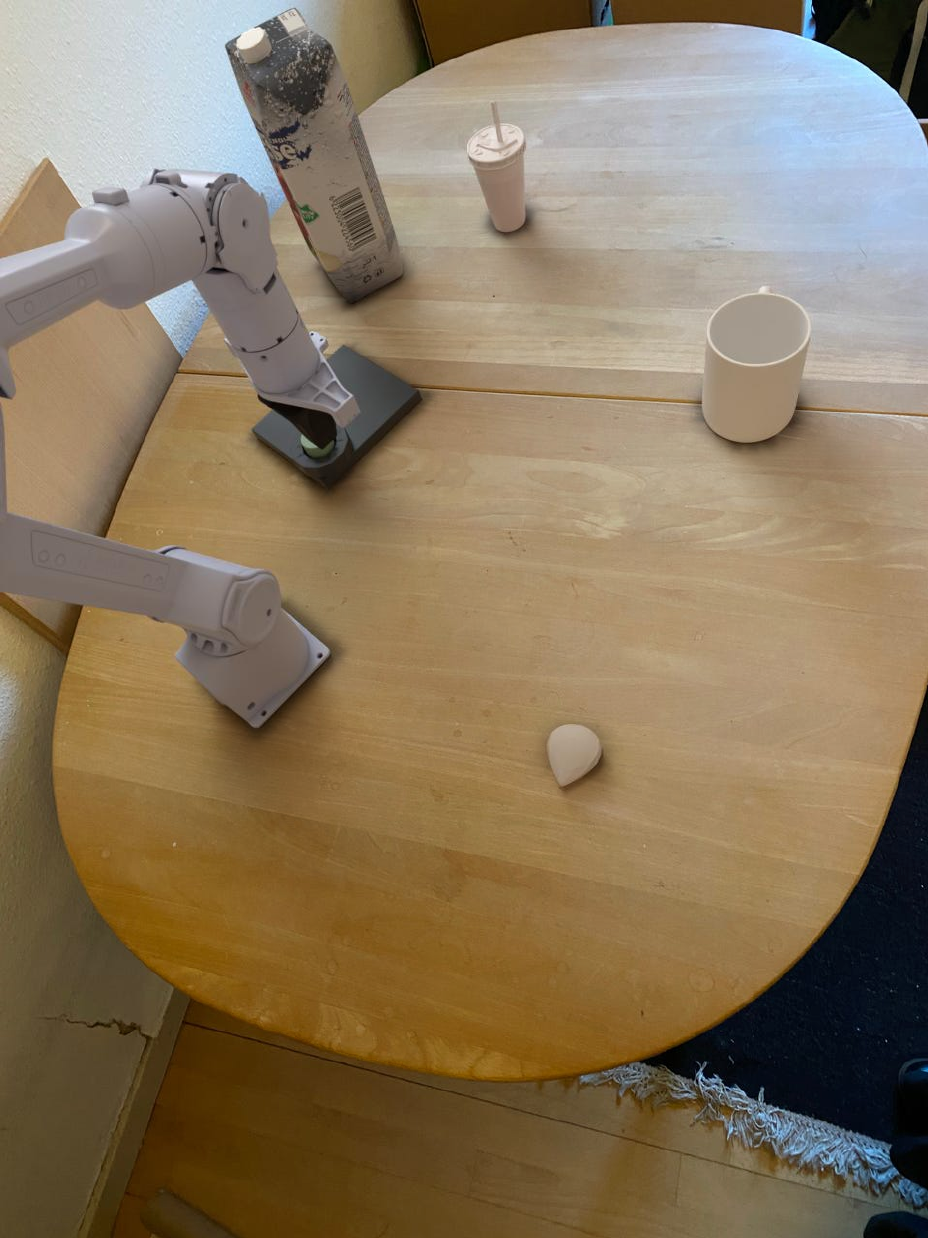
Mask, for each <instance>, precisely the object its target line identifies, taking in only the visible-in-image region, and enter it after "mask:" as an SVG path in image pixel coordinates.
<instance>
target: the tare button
mask: <svg viewBox="0 0 928 1238" xmlns="http://www.w3.org/2000/svg"><path fill="white" fill-rule="evenodd" d="M301 444H302V445H303V447H304V449H305V450H306V452H307V454H308V455H309V456H311V457H313V458H321V457H324V456H326V455H328V454H329V453H330V452H331V451H332V449H333V447H334V440H333V441H332V442H331V443H329V444H328V445H327V446H326V447H325V448H324V449H323V450H321V449H320V448H318V447H317V446H316V445H314V444H313V443H311V442H310V441H309V440H308V439H307V438H305V437H304V436H303V435H302V436H301Z"/></svg>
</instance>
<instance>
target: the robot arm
mask: <svg viewBox="0 0 928 1238" xmlns="http://www.w3.org/2000/svg"><path fill="white" fill-rule="evenodd" d="M91 196H92V199H93V203H91V204H89V205H87V206H83V207H80V208H78V209H76V210H75V211H73V212H72V213H71V214H70V216H69V218H68V219H67V222H66V224H65V228H64V233H63V240H60V241H56V242H53V243H49V244H46V245H42V246H40V247H36V248H33V249H30V250H25V251H21V252H18V253H15V254H11V255H8V256H5V257H1V258H0V399H1V398H2V399H6V400H14V398H15V396H16V393H17V387H16V384H15V383H16V382H15V379H14V373H13V370H12V369H13V368H12V364H11V359H10V355H9V350H11V348H12V347H14V346H16V345H18V344H19V343H21V342H23V341H25V340H27V339H29V338H30V337H33V336H34V335H36V334H38V333H40V332H42V331H43V330H45V329H48V328H49V327H51V326H52V325H54V324H57V323H58V322H60V321H62V320H63V319H66V318H67V317H70V316H71V315H72V314H75V313H76V312H79V311H80V310H82V309H84V308H86V307H88V306H89V305H91V304H93V303H96V301H99V302H100V303H102V304H103V305H106V306H108V307H109V308H112V309H116V310H121V311H122V310H130V309H133V308H136V307H138V306H140V305H143V304H144V303H146V302H148V301H150V300H152V299H154V298H156V297H158V296H160V295H163V294H165V293H167V292H169V291H171V290H174V289H176V288H177V287H180V286H182V285H184V284H187V283H188V282H190V281H191V282H192V283H193V285H194V286H195V288H196V290H197V291H198V293H199V295H200V296H201V299H202V300H203V301H204V303H205V305H206V306H207V308H208V309H209V311H210V313H211V315H212V316H213V318H214V320H215V321H216V323H217V324H218V326H219V328H220V329H221V331H222V333H223V335H224V336H225V337H224V338H223V342H224V343H225V346H226V347H227V348H228V350H229V352H230V353H231V355H232V356H233V357H234V358H236V359H237V360H238V362H239V363H240V365H241V366H242V369H243V371H244V372H245V374H246V377H247V378H248V380H249V382H250V383H251V386H252V388H253V389H254V390H255V392H256V393H257V399H258V401H259V402H260V403H262V404H263V405H264V406H266V407H268V408H269V409H271V410H274V411H275V412H277V413H278V414H280V415H281V416H282V417H284V418H285V419H287V420H289V421H290V422H291V423H292V424H293V425H294V426H295V427H296V428H297V429H298V430H299V431H300V432H301V433H302V435H303V436H304V437H305V438H307V439H308V440H309V441H310V442H311V443H313V444H314V445H316V446H317V447H318V448H320V449H321V450H323V449H324V448H325V447H326V446H327V445H328V444H329V443H331V442H332V441H333V440H334V439H335V438H336V437H337V428H336V424H338V425H339V426H341V427H342V428H344V427H345V426H347V425H348V424H349V423H350V422H351V421H352V420H353V419H354V418H355V417H356V416H357V415H358V414H359V413H360V412H361V411H360V409H359V407H358V404H357V402H356V400H355V398H354V396H353V395H352V394H351V393H349V392H348V391H347V390H346V389H345V388H344V387H343V386H342V385H341V383H340V382H339V380H338V378H337V377H336V375H335V374H334V372H333V370H332V369H331V367H330V366H329V364H328V362H327V361H326V360H327V359H326V357H325V356H324V352H325V351H326V350H327V349H328V348H329V341H328V339H327V338H326V336H324V335H322V334H321V333H319V332H317V331H310V332H309V331H308V329H307V327H306V324H305V322H304V321H303V318H302V316H301V313H300V312H299V310H298V308H297V306H296V304H295V302H294V299H293V298H292V296H291V293H290V292H289V289H288V288H287V286H286V283H285V281H284V279H283V277H282V275H281V273H280V271H279V269H278V265H279V262H278V259H277V256H278V252H277V251H276V248H275V247H274V246H275V245H274V243H273V241H272V237H271V225H270V224H271V223H270V222H271V220H270V213H269V206H268V203H267V200H266V197H265V195H264V192H263V191H260V192H258V191H256V190H255V189H254V188H253V187H252V186H251V185H250V183H248V182H247V181H246V180H245V178H243V177H242V176H238V174H237V173H234V172H233V173H232V172H221V171H207V170H196V169H195V170H194V169H182V168H169V169H165V168H164V169H163V168H162V169H158V168H152V169H150V170H149V171H148V172H147V174H146V175H145V176H144V178H143V180H142V182H141V184H140V187H139V188H137V189H134V190H131V191H127V190H126V189H125V188H123V187H112V186H103V187H101V188H97V189H94V190H93V191H92V192H91ZM4 421H5V420H4V413H3V406H2V403H1V402H0V593H5V594H11V595H18V596H24V597H30V598H36V599H42V600H47V601H55V602H61V603H66V604H73V605H79V606H85V607H91V608H97V609H103V610H110V611H115V612H122V613H127V614H134V615H139V616H146V617H147V618H149V619H150V620H152V621H154V622H157V623H158V622H159V623H162V624H165V623H166V624H169V625H171V626H172V625H173V626H175V627H179V628H181V629H182V630H183V631H184V633H185V634H186V638H185V639H184V640H183V642H182V644H181V646H180V647H179V649H178V650H176V652H175V654H174V655H173V657H174V659H175V660H176V661H177V663H179V665H181V666H182V668H183V669H185V670H186V671H187V673H189V674H190V675H191V676H192V677H193V678H194V679H195V680H196V681H197V682H198V683H199V684H200V685H201V686H203V688H205V689H206V690H207V691H208V692H209V694H210V695H211V696H212V697H213V698H214V699H215V700H217V701H218V702H219V703H220V704H221V705H222V706H226V707H228V708H229V709H230V710H232V711H233V712H234V713H235V714H236V715H238V716H239V717H241V718H242V719H243V720H244V721H246V722H247V723H248V724H249V726H251V727H252V728H254V729H259V728H261V727H262V726H263V725H264V723H266V722H267V720H268V719H270V717H271V716H273V715H274V714H275V712H276V711H277V710H278V709H280V708H281V706H282V705H283V704H284V703H285V702H286V701H287V700H289V698H291V696H292V695H293V694H294V693H295V692H296V691H297V690H298V689H299V688H300V686H302V685H303V684H304V683H305V681H307V679H308V678H310V676H312V675H313V673H315V672H316V670H317V669H318V668H319V667H320V666H321V665H322V664H323V663H324V662H325V661H326V660H327V659H328V658H329V657H330V656H331V650H330V649H329V648H328V647H327V646H326V645H325V643H323V642H322V641H321V640H319V639H318V638H317V637H316V636H315V635H314V634H313V633H311V632H310V631H309V630H308V629H307V628H306V627H305V626H304V625H302V624H301V623H300V622H299V621H297V620H296V619H295V618H294V617H293V616H292V615H291V614H290V613H288V612H287V611H286V610H285V609H284V608H282V592H281V587H280V583H279V580H278V578H277V577H276V575H275V574H274V573H273V572H272V571H270V570H269V569H265V568H259V567H255V568H254V567H250V566H246V565H243V564H239V563H235V562H232V561H228V560H224V559H221V558H218V557H214V556H209V555H206V554H202V553H200V552H199V553H198V552H195V551H191V550H189V549H187V548H186V547H183V546H180V545H177V544H170V545H166V546H162V547H159V548H158V549H153V550H152V549H147V548H142V547H138V546H134V545H131V544H127V543H123V542H120V541H117V540H112V539H110V538H106V537H101V536H97V535H94V534H90V533H86V532H83V531H80V530H76V529H72V528H68V527H64V526H61V525H57V524H53V523H51V522H47V521H42V520H39V519H35V518H32V517H29V516H24V515H21V514H18V513H13V512H9V511H8V494H7V493H8V491H7V490H8V489H7V465H6V463H7V462H6V437H5V422H4ZM320 656H322V657H320ZM264 713H265V714H264Z"/></svg>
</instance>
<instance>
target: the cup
mask: <svg viewBox="0 0 928 1238" xmlns="http://www.w3.org/2000/svg"><path fill="white" fill-rule="evenodd" d="M812 330H813V325H812V319H811V317H810V315H809V313H808V312H807V310H806V309H805V308H804V307H803V306H802V305H801V304H800V303H799V302H797V301H795V299H792V298H790V297H788V296H786V295H782V294H778V293H773V289H772V287H771V286H769V285H763V286H761V287H760V288H759V289H758V292H751V293H744V294H741V295H739V296H736V297H733V298H731V299H730V300H727V301H725V302H724V303H722V304H721V305H720V306H719V307H718V308H716V310H715V311H714V312H713V313H712V315H711V316H710V318H709V320H708V321H707V325H706V331H705V332H706V333H705V347H704V363H703V364H704V365H703V366H704V367H703V376H702V377H703V378H702V392H701V393H702V394H701V411H702V416H703V419H704V420H705V422H706V424H707V425H708V427H709V428H710V429H711V430H712V431H713V432H714V433H715V434H717V435H719V436H720V437H722V438H723V439H726V440H728V441H732V442H735V443H736V442H737V443H745V444H747V443H749V444H750V443H757V442H761V441H764V440H767V439H770V438H773V436H776V435H777V434H779V433H780V432H781V431H783V430H784V428H786V427H787V426H788V425H789V423H790V422H791V420H792V418H793V415H794V413H795V410H796V407H797V402H798V397H799V393H800V389H801V383H802V379H803V374H804V371H805V370H804V369H805V365H806V361H807V356H808V351H809V347H810V342H811V336H812Z"/></svg>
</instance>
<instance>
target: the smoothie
mask: <svg viewBox="0 0 928 1238" xmlns="http://www.w3.org/2000/svg"><path fill="white" fill-rule="evenodd" d="M490 107H491V112H492V118H493V124H492V125H491V124H490V125H488V126H485V127H483V128H481V129H479V130H477V132H475V133H473V135H472V136H471V137H470V138H469V140H468V141H467V144H466V154H467V161H468V163H469V164H470V165H471V166H472V167H473V170H474V172H475V176H476V178H477V181H478V183H479V187H480V189H481V192H482V195H483V198H484V201H485V204H486V206H487V209H488V212H489V215H490V218H491V221H492V223H493V226H494V228H495V229H496V230H497V231H498V232H500V233H501V232H502V233H511V232H514V231H516V230H519V229H520V228H521V227H522V226H523V225H524V224H525V222H526V188H525V187H526V186H525V185H526V184H525V152H526V149H527V141H526V135H525V133H524V131H523V130H522V129H521V128H520V127H519V126H517V125H515V124H511V123H501V122H500V117H499V109H498V104H497V99H491V100H490Z"/></svg>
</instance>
